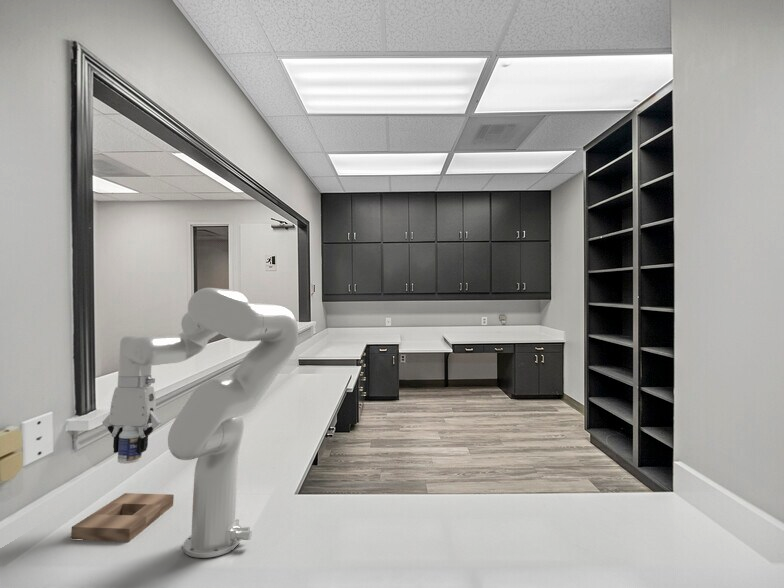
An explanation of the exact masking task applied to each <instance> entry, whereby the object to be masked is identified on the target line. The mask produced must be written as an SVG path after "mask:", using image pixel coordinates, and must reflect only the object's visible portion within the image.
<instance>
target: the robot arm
mask: <svg viewBox="0 0 784 588" xmlns="http://www.w3.org/2000/svg"><path fill="white" fill-rule="evenodd" d="M180 324H181V328H182V329H181V330H182V332H181V333H178V334H176V335H175V334H174V335H173V334H172V335H167V334H166V335H138V334H137V335H134V334H133V335H125V336H123V337H121V339H120V342H119V357H118V373H117V375H118V376H117V386H116V387H115V388H114V390H113V394H112V398H111V402H110V403H111V404H110V409H109V414H108V415H107V416H106V417H105V419H104V420H103V421H102V422H101V423H102V425H103V426H105V428H107V430H108V432H109V433H111V438H113V443H112V444H113V445H112V446H113V447H112V448H113V453H115V454H118V446H119V435H120V433H121V432H123V431H124V430H123V426H132V427H138V430H139V434H140V438H138V442H137V453H138V454H140V453H142V454H143V453H144V452H146V451H147V449H148V445H149V444H148V443H149V436H150V435H151V434H152V433H153V432H154V431H155V430H156V429H157V428H159V426H161V424H162V422H161V420H160V418H159V417H158V416H157V402H156V393H155V388H154V386H152V384H155V383H156V378H155V377H154V378H153V377H152V366H160V365H168V364H170V365H171V364H178V363H181V362H184V361H187V360H189V359H191V358H193V357H195V356H196V355H198V354H199V353H201V352H202V351H203V350H204V349H205V348H206V346H207V345H208V343H209V340H211V339H213V338H214V337H216V336H218V335H222V336H223V337H227V338H229V339H232V340H234V341H236V342H237V341H238V342H257V341H259V343H258V344H257V345H256V346H255V347H253V348H252V349H251V350H250V351H249V352H248V353H246V355H245V356H244V358H243V359H242V361H241V363H239V365H238V367H236V369H235V370H234V371H233V372H232V373H231V374H229V375H227V376H220V377H215V378H211V379H208V380H206V381H204V382H202V383H201V384H199V386H197V388H195V390H194V391H193V392H192V393H191V395H190V397H189V398H188V400H187V401H186V403H185V404H184V406H183V407H182V408H181V410H180V412H179V414H178V415H177V417H175V420H174V421H173V423H172V425H171V426H170V429H169V432H168V435H167V445H168V446H167V447H168V450H169V452H170V454H172V456H173V457H174V458H175V459H178V460H181V461H191V460H195V459H197V460H196V462H195V468H194V473H193V474H194V475H193V477H194V478H193V490H192V491H193V497H192V498H193V499H192V514H191V534H190V535H189V536H188V537H187V538H185V540H184V542H183V547H182V549H183V552H184V553H185V554H186V555H187V556H190V557H192V558H198V559H207V558H214V557H219V556H222V555H226V554H227V553H230V552H232V551H233V550H235V549H236V548H237V547H238V546H239V545H240V544H239V542H240V541H241V542H242V541H251V539H252V535H253V534H252V533H253V532H252V530H251V527H250V526H241V525H240V519H237V518H236V508H237V506H236V504H237V483H238V482H237V481H238V470H239V469H238V468H239V467H238V466H239V465H238V464H239V454H240V448H241V444H242V439H243V435H244V421H243V420H244V419H243V418H242V416H245V415H247V414H249V413H251V412H252V411H253V410H254V409H256V407H257V405H258V404H259V402H260V401H261V400H262V399H263V397H264V395H265V394H266V393H267V391H268V389H269V388H270V386H271V385H272V384H273V382H274V381H275V379H276V378H277V376H278V374H280V372H281V370H282V369H284V367H285V365H286V364H287V362H288V361H289V359H290V358H291V357H292V355H293V353H294V352H295V349H296V347H297V344H298V340H299V339H298V338H299V327H298V326H299V325H298V321H297V319H296V317H295V316H294V314H293V313H292V311H291V310H289V308H287V307H284V306H282V305H279V304H275V303H274V304H273V303H264V302H263V303H260V302H250V301H249V299H248V298H247V296H245V295H244V293H242V292H240V291H237V290H234V289H228V288H227V289H226V288H218V287H217V288H216V287H203V288H201V289H198V290H197V291H196V292H194V293H193V294H192V295H191V296H190V298H189V301H188V304H187V312H186V313H185V314H184V315H183V316H182V319H181V322H180ZM149 424H151V425H149ZM241 542H240V543H241ZM238 544H239V545H238ZM237 545H238V546H237ZM236 546H237V547H236ZM235 547H236V548H235ZM234 548H235V549H234ZM231 550H232V551H231Z"/></svg>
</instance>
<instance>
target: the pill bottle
mask: <svg viewBox="0 0 784 588" xmlns="http://www.w3.org/2000/svg"><path fill="white" fill-rule="evenodd" d="M138 438H140V434H139V430H138V427H132V426H123V432H121V433H120V435H119V446H118V452H117V463H119V464H132V463H136V462H139V461H141V459H142V454H143V452H142V453H140V454H138V453H137V442H138Z"/></svg>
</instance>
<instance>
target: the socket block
mask: <svg viewBox="0 0 784 588" xmlns="http://www.w3.org/2000/svg"><path fill="white" fill-rule="evenodd" d="M174 500H175V499H174V494H166V493H165V494H164V493H161V494H159V493H135V492H133V493H131V492H129V493H128V492H127V493H126V492H125V493H123V494H121V495H120V496H117V498H115V499H113V500H111V501H110V502H109V503H107V504H105V505H104V506H102V507H101V508H99V509H98V510H95V512H92V513H91V514H89V515H88V516H87V517H85V518H84V519H81V520H80V521H79V522H77V523H75V525H73V526H71V532H70V533H71V534H70V539H71V538H72V539H83V540H82V541H88V540H92V541H91V542H93V541H95V542H97V541H98V542H121V543H122V542H124V543H125V542H127V543H130V541H132V540H133V539H134V538H135V537H136V536H138V535H139V534H140V533H142V532H143V531H144V530H145V529H146V528H148V527H149V526H150V525H152V524H153V523H154V522H155V521H156V520H157V519H159V517H161V516H162V515H164V514H165V513H166V512H167V511H168V510H169V509H171V508H172V507H173V506H174Z"/></svg>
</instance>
